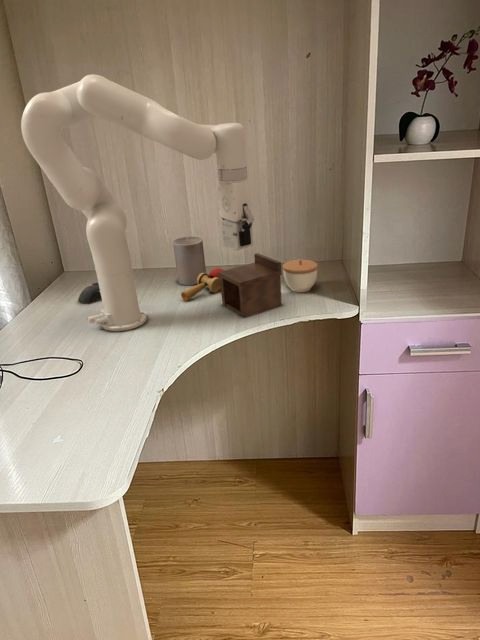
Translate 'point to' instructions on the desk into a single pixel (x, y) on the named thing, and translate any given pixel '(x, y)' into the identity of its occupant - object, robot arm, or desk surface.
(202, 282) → the kendama
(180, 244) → the pillar candle
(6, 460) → the desk surface
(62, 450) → the desk surface
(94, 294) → the computer mouse
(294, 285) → the trinket box
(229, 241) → the white cardboard box
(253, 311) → the shelf
